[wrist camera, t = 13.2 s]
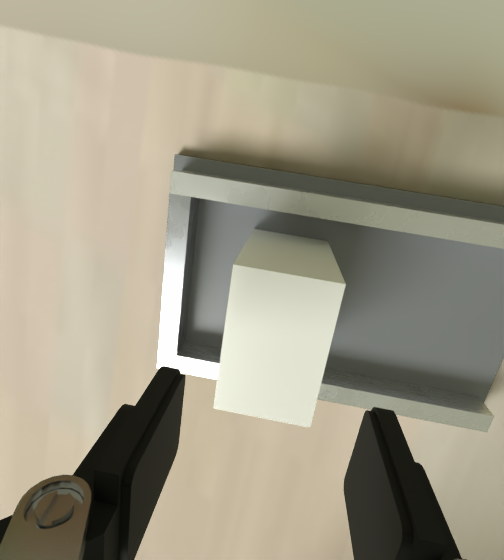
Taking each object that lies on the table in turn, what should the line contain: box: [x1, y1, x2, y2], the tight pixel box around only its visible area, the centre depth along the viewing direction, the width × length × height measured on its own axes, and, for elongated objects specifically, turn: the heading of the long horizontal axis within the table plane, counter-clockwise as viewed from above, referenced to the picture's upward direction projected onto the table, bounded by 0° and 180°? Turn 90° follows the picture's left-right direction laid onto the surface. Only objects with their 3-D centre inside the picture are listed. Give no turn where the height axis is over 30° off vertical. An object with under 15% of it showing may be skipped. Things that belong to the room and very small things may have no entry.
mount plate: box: [174, 154, 504, 403], centre depth 23 cm, size 22×14×1 cm, turn 81°
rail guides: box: [157, 170, 504, 432], centre depth 22 cm, size 21×12×2 cm, turn 82°
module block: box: [213, 229, 346, 428], centre depth 19 cm, size 4×7×8 cm, turn 171°
